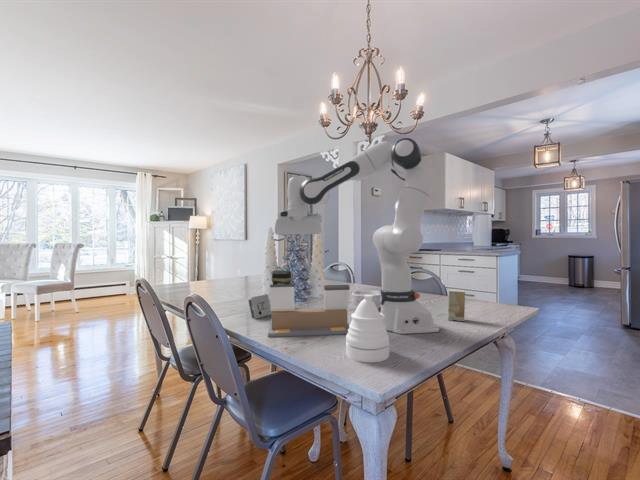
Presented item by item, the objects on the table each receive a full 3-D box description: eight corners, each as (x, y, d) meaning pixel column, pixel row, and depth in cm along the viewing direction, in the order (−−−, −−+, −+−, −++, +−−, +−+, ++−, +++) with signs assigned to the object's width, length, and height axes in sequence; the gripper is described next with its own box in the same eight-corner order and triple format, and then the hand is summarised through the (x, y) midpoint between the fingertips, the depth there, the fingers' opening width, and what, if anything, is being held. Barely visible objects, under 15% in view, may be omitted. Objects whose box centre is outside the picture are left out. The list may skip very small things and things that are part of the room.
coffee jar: (269, 310, 156) (269, 271, 156) (274, 306, 164) (273, 269, 164) (290, 310, 155) (289, 271, 155) (293, 306, 163) (293, 269, 163)
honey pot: (395, 361, 93) (394, 297, 93) (349, 363, 92) (349, 299, 92) (382, 345, 106) (382, 289, 106) (342, 347, 105) (342, 290, 105)
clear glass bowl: (351, 305, 165) (351, 289, 165) (382, 305, 163) (382, 289, 163) (351, 312, 150) (351, 295, 150) (385, 313, 148) (385, 295, 148)
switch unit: (345, 322, 133) (345, 305, 133) (352, 333, 119) (352, 313, 119) (270, 325, 130) (270, 307, 130) (268, 337, 116) (267, 316, 116)
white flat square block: (347, 306, 126) (348, 284, 123) (348, 309, 125) (349, 287, 121) (323, 307, 126) (324, 285, 122) (323, 310, 124) (324, 288, 120)
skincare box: (448, 320, 135) (448, 290, 135) (448, 317, 139) (448, 288, 139) (465, 321, 133) (465, 291, 132) (464, 319, 137) (464, 289, 137)
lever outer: (294, 309, 125) (294, 285, 128) (294, 309, 123) (294, 284, 126) (270, 310, 124) (270, 285, 127) (269, 309, 122) (270, 284, 125)
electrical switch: (256, 319, 140) (254, 297, 140) (248, 318, 143) (246, 297, 144) (272, 315, 147) (270, 294, 148) (264, 314, 151) (262, 294, 151)
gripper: (320, 213, 149) (320, 244, 149) (274, 213, 147) (275, 244, 147) (322, 212, 143) (322, 244, 143) (274, 213, 141) (274, 245, 141)
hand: (298, 244), depth 145 cm, fingers closed
